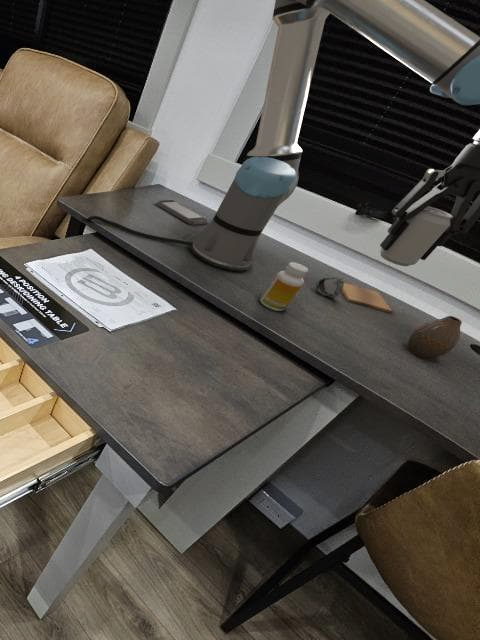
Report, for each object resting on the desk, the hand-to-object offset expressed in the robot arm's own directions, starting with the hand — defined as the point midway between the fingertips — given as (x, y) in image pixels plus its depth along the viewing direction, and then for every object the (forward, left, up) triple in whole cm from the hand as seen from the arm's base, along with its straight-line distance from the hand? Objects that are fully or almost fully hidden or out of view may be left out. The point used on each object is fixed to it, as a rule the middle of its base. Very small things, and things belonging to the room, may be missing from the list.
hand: (401, 252), depth 106 cm
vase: (+4, -22, -13) cm, 26 cm away
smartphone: (-45, +27, -12) cm, 54 cm away
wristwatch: (-11, -5, -13) cm, 17 cm away
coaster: (0, 0, -12) cm, 12 cm away
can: (0, 0, -2) cm, 2 cm away
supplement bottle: (-26, -20, -13) cm, 35 cm away
